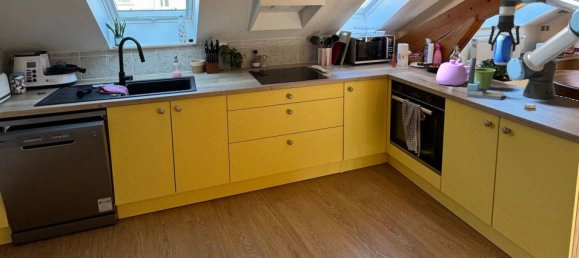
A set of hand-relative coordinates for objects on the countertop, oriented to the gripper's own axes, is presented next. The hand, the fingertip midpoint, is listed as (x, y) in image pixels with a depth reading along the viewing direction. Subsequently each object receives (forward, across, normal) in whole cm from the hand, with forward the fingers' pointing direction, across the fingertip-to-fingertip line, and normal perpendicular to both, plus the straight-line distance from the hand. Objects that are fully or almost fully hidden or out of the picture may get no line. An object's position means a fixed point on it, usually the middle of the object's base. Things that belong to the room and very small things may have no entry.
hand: (502, 57), depth 236 cm
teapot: (+21, +30, -17) cm, 40 cm away
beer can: (+4, 0, 0) cm, 4 cm away
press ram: (+19, +12, +9) cm, 24 cm away
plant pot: (+21, +10, -11) cm, 26 cm away
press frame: (+21, +5, +9) cm, 23 cm away
